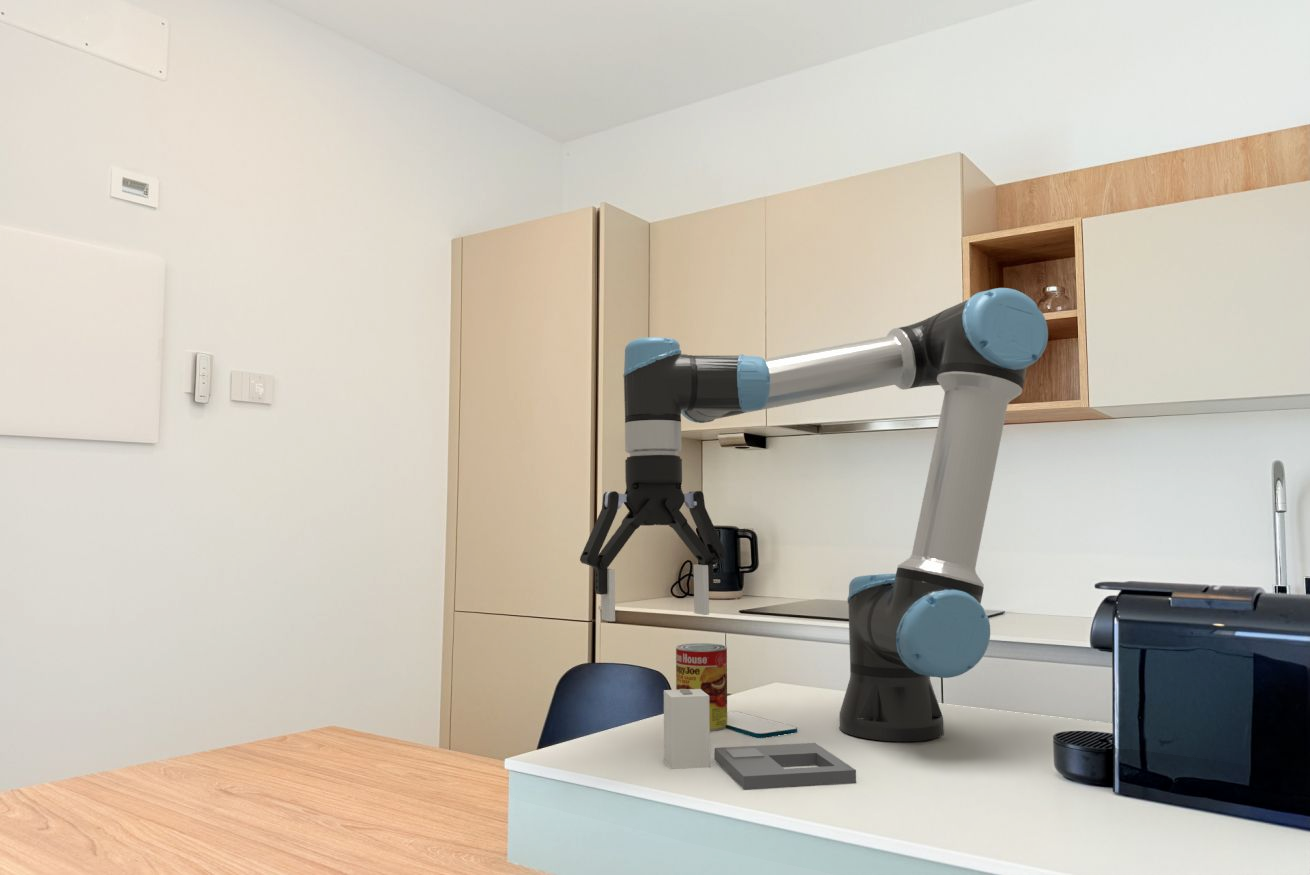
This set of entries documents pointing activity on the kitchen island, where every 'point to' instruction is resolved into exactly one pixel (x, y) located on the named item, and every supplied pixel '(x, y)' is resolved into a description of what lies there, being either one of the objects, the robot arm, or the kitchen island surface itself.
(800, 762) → the grey square base plate
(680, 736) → the block
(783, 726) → the smartphone
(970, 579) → the robot arm
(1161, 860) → the kitchen island surface
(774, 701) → the kitchen island surface
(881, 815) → the kitchen island surface
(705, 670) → the canned food
